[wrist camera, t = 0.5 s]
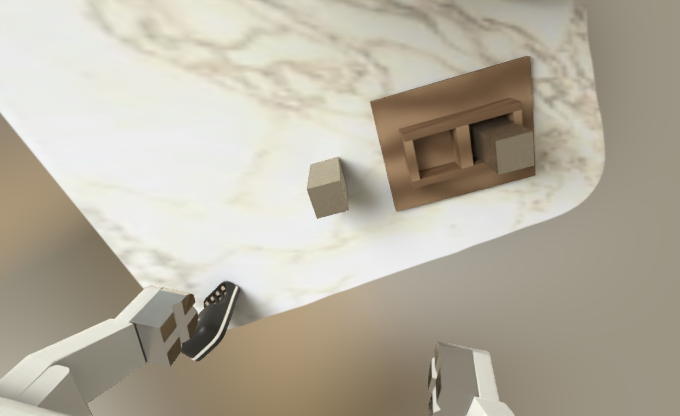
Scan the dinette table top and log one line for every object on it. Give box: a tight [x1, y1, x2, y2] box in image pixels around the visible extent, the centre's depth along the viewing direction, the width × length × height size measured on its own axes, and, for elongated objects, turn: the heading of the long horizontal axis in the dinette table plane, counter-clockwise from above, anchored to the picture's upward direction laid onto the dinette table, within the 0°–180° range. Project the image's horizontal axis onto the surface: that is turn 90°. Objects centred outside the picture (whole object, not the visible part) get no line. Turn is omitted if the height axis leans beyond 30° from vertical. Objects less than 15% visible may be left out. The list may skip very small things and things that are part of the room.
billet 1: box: [307, 157, 349, 219], centre depth 46 cm, size 4×4×9 cm
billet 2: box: [468, 116, 534, 175], centre depth 44 cm, size 4×4×9 cm
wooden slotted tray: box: [370, 56, 535, 211], centre depth 47 cm, size 16×20×4 cm
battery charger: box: [181, 282, 240, 361], centre depth 54 cm, size 7×4×11 cm, turn 136°
